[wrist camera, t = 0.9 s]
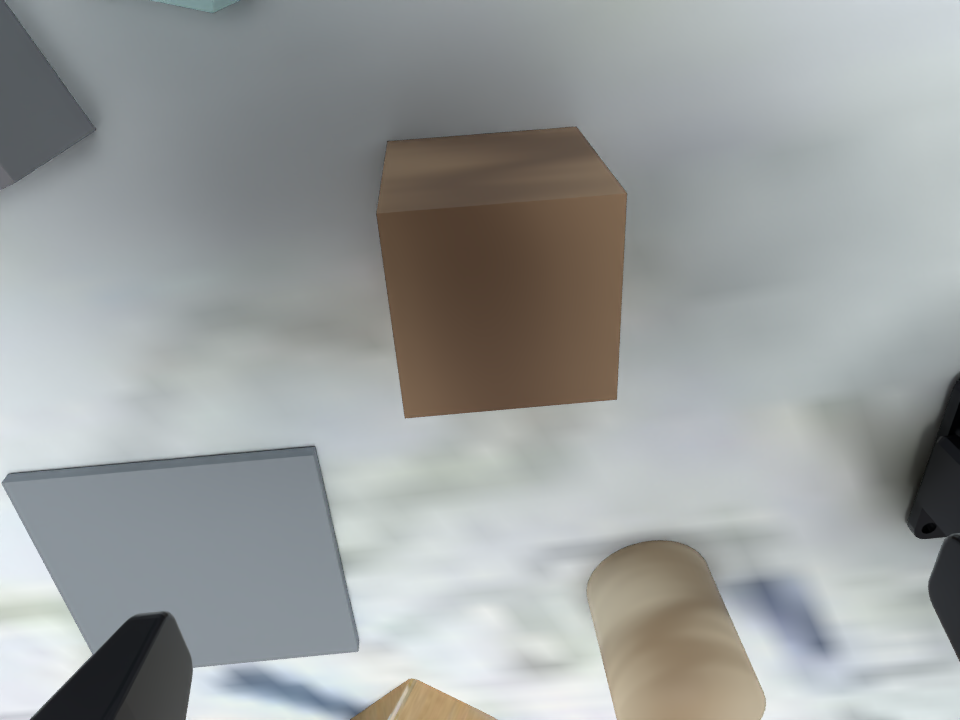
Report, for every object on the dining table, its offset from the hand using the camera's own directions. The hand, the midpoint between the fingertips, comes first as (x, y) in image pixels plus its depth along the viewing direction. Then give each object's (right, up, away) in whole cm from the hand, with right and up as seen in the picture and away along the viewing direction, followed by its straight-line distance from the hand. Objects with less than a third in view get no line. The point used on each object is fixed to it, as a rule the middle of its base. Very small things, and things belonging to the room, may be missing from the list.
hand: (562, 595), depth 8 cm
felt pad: (-10, -4, +15) cm, 19 cm away
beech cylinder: (+5, -5, +17) cm, 19 cm away
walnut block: (-1, +6, +10) cm, 12 cm away
